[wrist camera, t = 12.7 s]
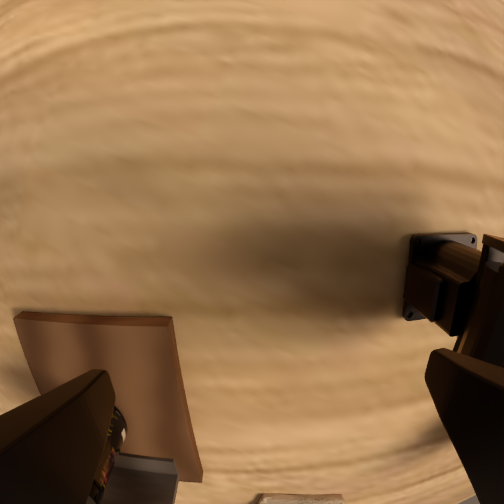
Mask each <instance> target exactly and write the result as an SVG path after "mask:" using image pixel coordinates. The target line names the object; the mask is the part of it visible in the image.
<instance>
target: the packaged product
mask: <svg viewBox="0 0 504 504" xmlns="http://www.w3.org/2000/svg"><path fill="white" fill-rule="evenodd" d="M343 502H344V498H343V497H342V495H341V494H331V495H291V494H277V493H264V494H263V495H262V497H261V498H260V500H259V501H258V503H257V504H342V503H343Z"/></svg>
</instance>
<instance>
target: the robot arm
mask: <svg viewBox="0 0 504 504" xmlns="http://www.w3.org/2000/svg"><path fill="white" fill-rule="evenodd" d="M417 239H419V242H418V244H417V245H416V240H417ZM471 239H472V242H471ZM482 243H483V248H482V251H479V250H477V249H476V247H477V236H476V235H475V234H471V233H457V234H416V235H413V236H412V238H411V240H410V251H409V263H408V265H407V269H406V279H405V288H404V296H403V298H404V306H403V313H402V316H403V318H404V319H405V320H407V321H413V320H420V319H426V318H427V319H428V320H429V321H430V322H434V323H435V324H437V325H438V326H439V327H440V328H441V329H442V330H444V331H445V332H446V333H447V334H448V335H449V336H451V337H453V336H457V340H456V343H455V346H454V348H453V351H452V350H449V349H446V348H441V349H437V350H433V351H432V352H431V354H430V356H429V360H428V364H427V368H426V371H425V382H426V384H427V387H428V389H429V392H430V394H431V397H432V399H433V402H434V404H435V407H436V409H437V412H438V414H439V417H440V419H441V421H442V423H443V426H444V428H445V430H446V431H447V433H448V435H449V437H450V439H451V441H452V443H453V445H454V447H455V450H456V452H457V454H458V456H459V458H460V460H461V462H462V464H463V466H464V468H465V471H466V473H467V475H468V477H469V479H470V482H471V484H472V486H473V488H474V491H475V493H476V495H477V498H478V500H479V502H480V504H504V238H500V237H496V236H491V235H487V234H483V240H482ZM409 312H411V313H410V315H409V316H407V315H408V313H409ZM115 400H116V395H115V391H114V388H113V385H112V382H111V378H110V375H109V373H108V371H106V370H105V369H95V368H94V369H91V370H89V371H87V372H85V373H83V374H82V375H80V376H78V377H76V378H74V379H72V380H70V381H68V382H66V383H64V384H62V385H60V386H58V387H56V388H54V389H52V390H50V391H48V392H46V393H44V394H42V395H40V396H38V397H36V398H34V399H32V400H30V401H28V402H26V403H24V404H22V405H20V406H18V407H16V408H14V409H12V410H10V411H8V412H6V413H4V414H2V415H0V504H86V503H87V499H88V496H89V493H90V490H91V487H92V483H93V480H94V477H95V474H96V471H97V468H98V465H99V462H100V459H101V456H102V453H103V450H104V447H105V444H106V440H107V436H108V431H109V426H110V422H111V418H112V413H113V409H114V405H115Z"/></svg>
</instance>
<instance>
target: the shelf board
mask: <svg viewBox="0 0 504 504" xmlns="http://www.w3.org/2000/svg"><path fill="white" fill-rule="evenodd" d="M13 320H14V324H15V327H16V330H17V333H18V336H19V339H20V342H21V345H22V348H23V351H24V354H25V357H26V359H27V362H28V365H29V367H30V370H31V372H32V375H33V377H34V380H35V382H36V385H37V387H38V389H39V391H40V394H41V395H42V394H44V393H46V392H48V391H50V390H52V389H54V388H56V387H58V386H60V385H62V384H64V383H66V382H68V381H70V380H72V379H74V378H76V377H78V376H80V375H82V374H83V373H85V372H87V371H89V370H91V369H94V368H95V369H105V370H106V371H108V373H109V375H110V378H111V382H112V385H113V388H114V391H115V395H116V400H115V406H116V407H117V408H118V409H119V410H120V412H121V413H122V414H123V416H124V418H125V420H126V423H127V428H128V432H127V435H126V438H125V440H124V443H123V445H122V447H121V450H120V452H119V455H118V457H117V460H116V462H115V465H114V467H113V470H112V473H111V475H110V478H109V480H108V483H107V486H106V488H105V491H104V493H103V498H102V500H101V503H100V504H174V503H175V497H176V492H177V486H178V481H183V482H198V483H202V477H203V470H202V466H201V462H200V458H199V454H198V450H197V446H196V441H195V437H194V433H193V428H192V424H191V419H190V415H189V410H188V405H187V401H186V396H185V390H184V385H183V380H182V375H181V369H180V364H179V358H178V352H177V346H176V340H175V333H174V327H173V320H172V317H120V316H89V315H68V314H51V313H36V312H23V311H22V312H21V313H20V314H18V315H17V316H15V317H14V318H13Z"/></svg>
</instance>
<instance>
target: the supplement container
mask: <svg viewBox="0 0 504 504" xmlns="http://www.w3.org/2000/svg"><path fill="white" fill-rule="evenodd" d="M127 432H128V428H127V423H126V420H125V418H124V416H123V414H122V413H121V412H120V410H119V409H118V408H117V407H116V406H115V405H114V409H113V413H112V418H111V422H110V426H109V431H108V436H107V440H106V444H105V447H104V450H103V453H102V456H101V459H100V462H99V465H98V468H97V471H96V474H95V477H94V480H93V483H92V487H91V490H90V493H89V496H88V499H87V503H86V504H100V503H101V500H102V498H103V493H104V491H105V488H106V486H107V483H108V480H109V478H110V475H111V473H112V470H113V467H114V465H115V462H116V460H117V457H118V455H119V452H120V450H121V447H122V445H123V443H124V440H125V438H126V435H127Z"/></svg>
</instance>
